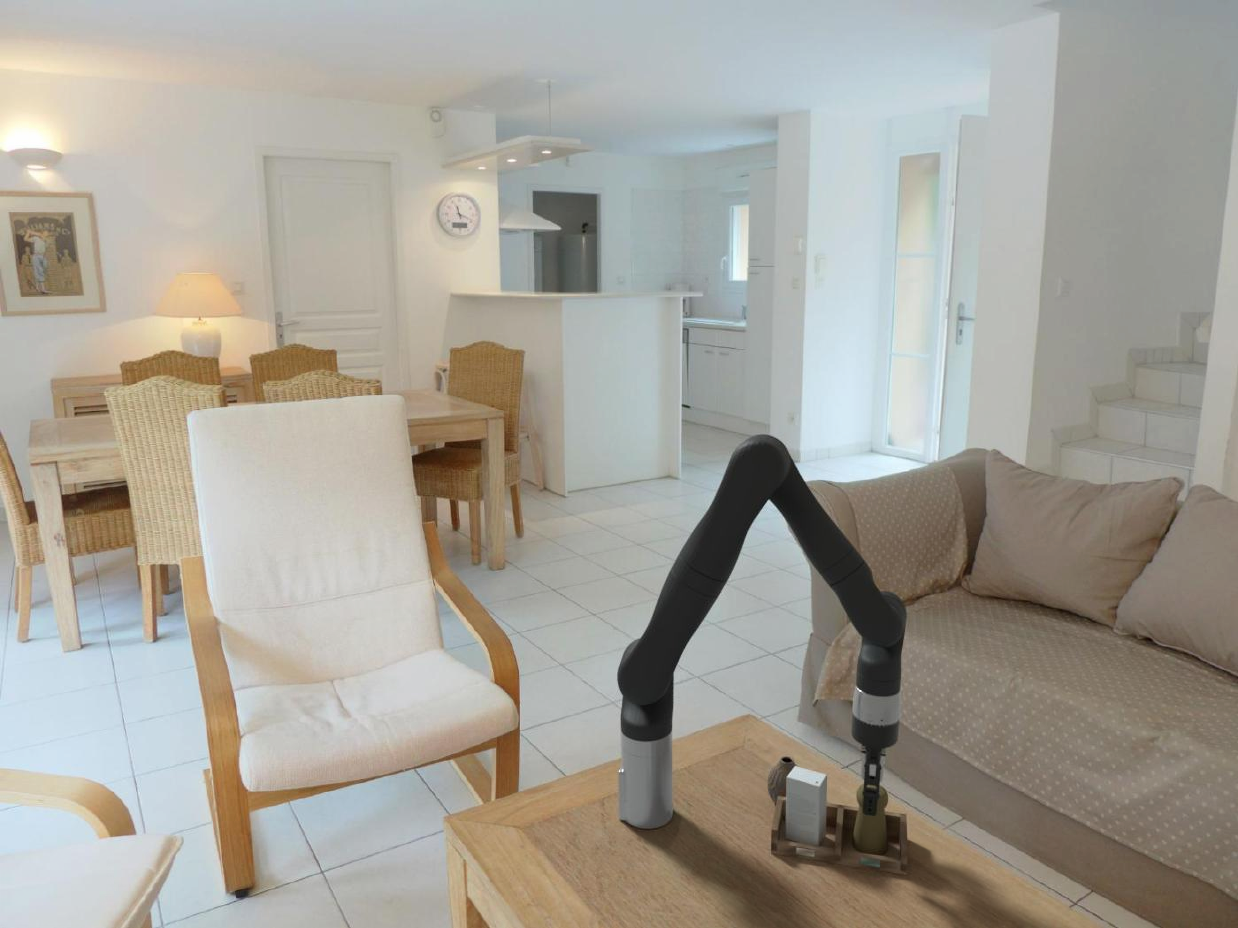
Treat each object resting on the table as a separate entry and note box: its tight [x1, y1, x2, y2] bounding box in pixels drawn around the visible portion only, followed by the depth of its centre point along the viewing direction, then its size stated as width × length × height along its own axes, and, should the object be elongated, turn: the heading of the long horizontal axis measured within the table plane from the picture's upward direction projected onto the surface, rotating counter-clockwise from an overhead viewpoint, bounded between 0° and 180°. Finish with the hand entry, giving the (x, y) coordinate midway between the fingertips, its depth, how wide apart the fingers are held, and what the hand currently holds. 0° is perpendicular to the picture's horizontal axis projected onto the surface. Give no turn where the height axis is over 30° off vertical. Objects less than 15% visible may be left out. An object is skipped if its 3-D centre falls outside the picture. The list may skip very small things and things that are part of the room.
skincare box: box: [786, 765, 828, 846], centre depth 155 cm, size 6×4×12 cm
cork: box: [852, 783, 889, 856], centre depth 153 cm, size 6×6×11 cm
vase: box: [767, 756, 799, 805], centre depth 167 cm, size 7×7×9 cm
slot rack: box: [770, 796, 909, 876], centre depth 155 cm, size 22×10×5 cm, turn 74°
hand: (870, 799), depth 152 cm, fingers open, 8 cm apart
